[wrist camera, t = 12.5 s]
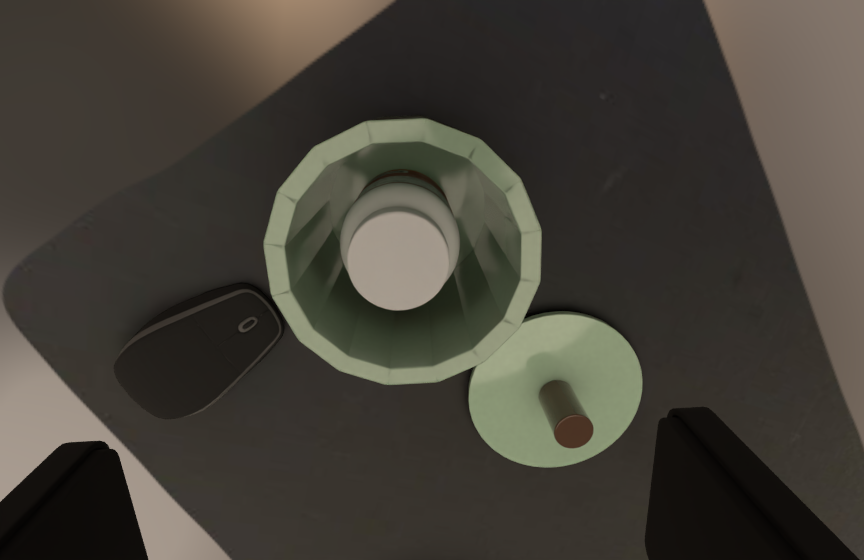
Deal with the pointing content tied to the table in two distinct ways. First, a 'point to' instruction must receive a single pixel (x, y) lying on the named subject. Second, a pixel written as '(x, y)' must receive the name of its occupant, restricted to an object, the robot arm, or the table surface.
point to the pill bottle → (400, 240)
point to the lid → (556, 390)
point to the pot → (459, 296)
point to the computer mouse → (198, 350)
